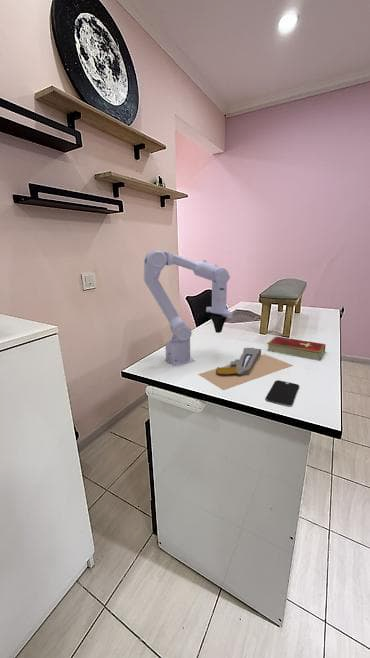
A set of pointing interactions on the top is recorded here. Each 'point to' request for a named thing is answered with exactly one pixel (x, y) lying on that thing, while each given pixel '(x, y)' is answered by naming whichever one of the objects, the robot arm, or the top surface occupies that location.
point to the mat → (260, 369)
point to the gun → (242, 363)
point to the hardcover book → (296, 347)
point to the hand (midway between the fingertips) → (218, 332)
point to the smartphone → (282, 393)
